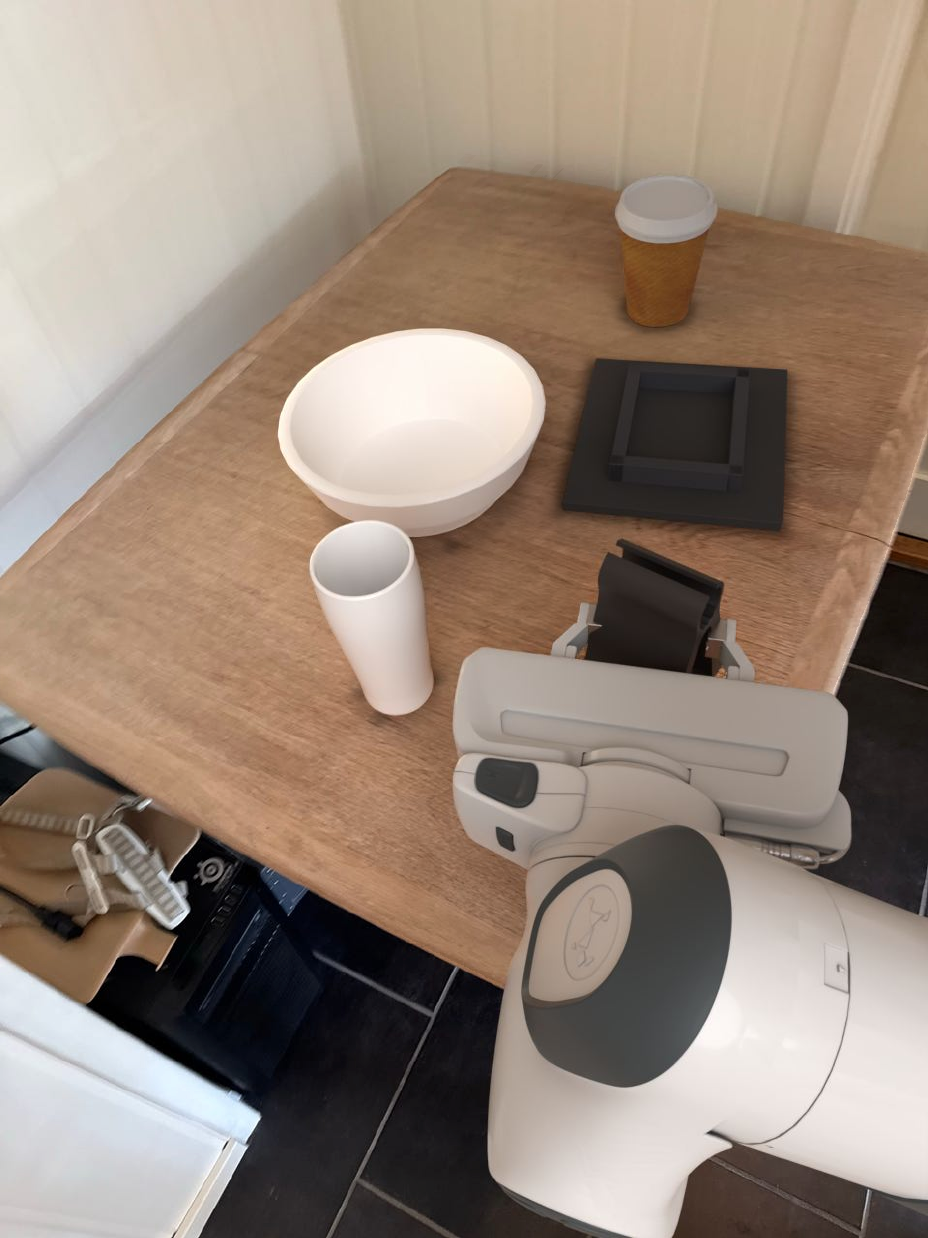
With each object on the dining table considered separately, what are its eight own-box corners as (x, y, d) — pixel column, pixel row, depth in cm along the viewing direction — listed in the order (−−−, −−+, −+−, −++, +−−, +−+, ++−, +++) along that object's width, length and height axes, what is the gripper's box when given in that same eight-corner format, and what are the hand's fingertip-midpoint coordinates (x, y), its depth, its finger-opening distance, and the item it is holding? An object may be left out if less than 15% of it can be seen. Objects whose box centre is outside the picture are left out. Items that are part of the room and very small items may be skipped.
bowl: (282, 579, 74) (253, 510, 67) (320, 406, 88) (299, 334, 81) (550, 571, 72) (547, 498, 65) (546, 394, 85) (544, 319, 79)
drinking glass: (403, 637, 69) (367, 502, 57) (463, 685, 66) (437, 552, 54) (337, 691, 67) (285, 562, 55) (396, 744, 63) (354, 619, 51)
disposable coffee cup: (710, 333, 88) (726, 218, 79) (615, 340, 89) (619, 227, 80) (697, 280, 94) (711, 167, 85) (607, 287, 95) (611, 176, 86)
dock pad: (785, 377, 83) (791, 350, 81) (780, 531, 72) (787, 505, 69) (595, 366, 87) (596, 340, 85) (562, 510, 76) (561, 485, 73)
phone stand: (642, 623, 59) (653, 494, 49) (725, 662, 56) (753, 535, 47) (569, 720, 55) (566, 601, 45) (655, 767, 52) (670, 651, 43)
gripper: (870, 850, 38) (860, 603, 46) (420, 775, 43) (482, 562, 51) (837, 901, 43) (834, 671, 51) (437, 829, 48) (491, 628, 56)
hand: (656, 616), depth 51 cm, fingers closed on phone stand, 6 cm apart
